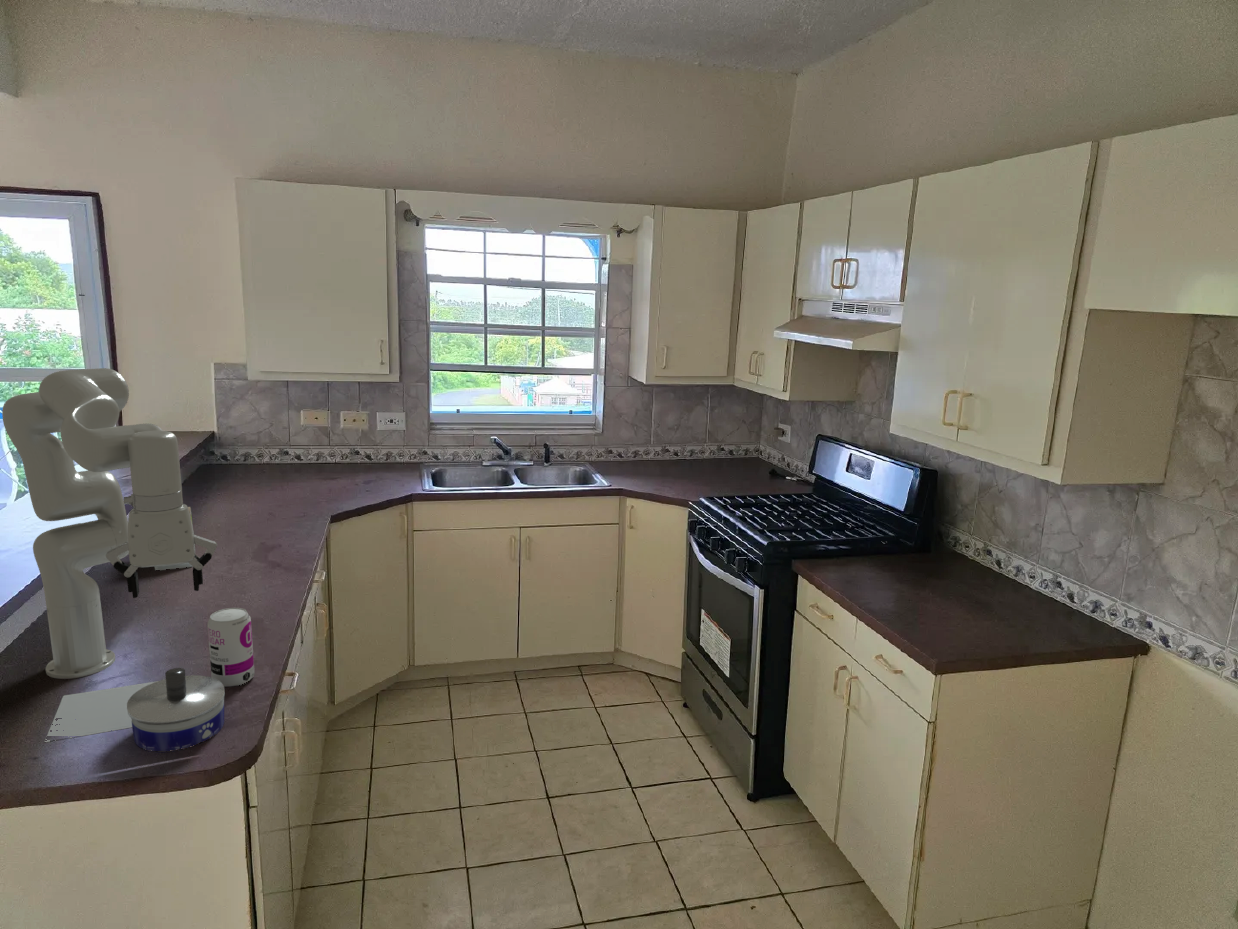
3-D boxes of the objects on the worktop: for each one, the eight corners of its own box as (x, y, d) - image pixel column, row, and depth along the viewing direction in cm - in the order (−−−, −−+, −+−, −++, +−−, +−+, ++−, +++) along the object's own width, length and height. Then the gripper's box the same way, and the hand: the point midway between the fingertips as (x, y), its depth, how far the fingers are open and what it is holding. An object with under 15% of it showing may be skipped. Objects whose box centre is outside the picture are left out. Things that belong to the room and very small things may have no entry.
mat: (63, 697, 160) (63, 695, 160) (165, 681, 168) (165, 680, 167) (44, 744, 144) (44, 742, 144) (158, 724, 152) (157, 722, 152)
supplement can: (260, 670, 174) (256, 607, 170) (244, 689, 166) (239, 623, 162) (223, 670, 173) (218, 606, 170) (205, 689, 165) (199, 622, 162)
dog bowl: (186, 760, 141) (184, 730, 140) (112, 745, 144) (109, 715, 143) (242, 716, 156) (241, 688, 154) (174, 703, 159) (172, 675, 157)
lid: (132, 687, 152) (129, 659, 151) (225, 674, 159) (223, 647, 158) (122, 731, 138) (119, 700, 137) (224, 715, 145) (222, 686, 144)
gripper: (97, 510, 133) (107, 606, 137) (212, 502, 140) (219, 593, 144) (104, 499, 140) (113, 590, 143) (213, 492, 147) (220, 579, 151)
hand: (166, 591), depth 144 cm, fingers open, 9 cm apart
